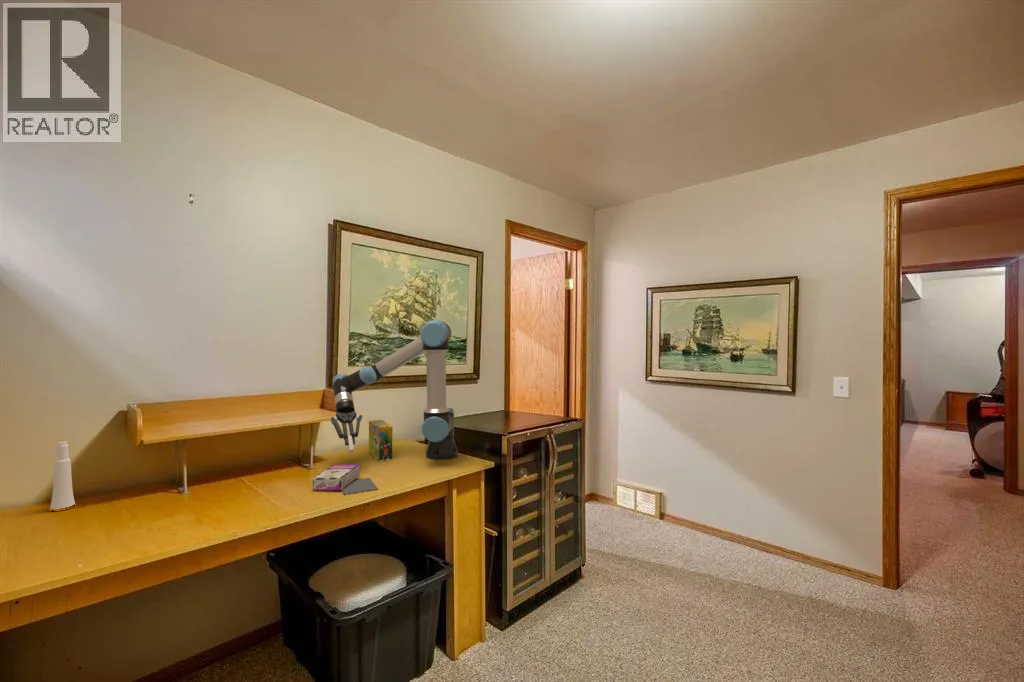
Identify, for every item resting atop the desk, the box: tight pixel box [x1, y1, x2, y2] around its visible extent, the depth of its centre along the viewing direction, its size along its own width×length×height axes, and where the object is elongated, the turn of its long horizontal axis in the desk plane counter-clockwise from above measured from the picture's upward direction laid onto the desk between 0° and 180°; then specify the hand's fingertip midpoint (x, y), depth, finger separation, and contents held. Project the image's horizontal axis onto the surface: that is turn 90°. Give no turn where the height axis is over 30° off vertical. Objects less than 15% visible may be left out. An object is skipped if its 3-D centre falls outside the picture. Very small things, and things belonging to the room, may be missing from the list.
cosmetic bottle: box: [49, 440, 76, 510], centre depth 147 cm, size 6×6×22 cm
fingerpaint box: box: [368, 419, 393, 461], centre depth 214 cm, size 19×7×16 cm, turn 32°
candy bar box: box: [311, 463, 361, 491], centre depth 172 cm, size 11×5×16 cm
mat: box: [341, 477, 379, 496], centre depth 170 cm, size 12×15×1 cm
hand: (351, 451), depth 181 cm, fingers closed
